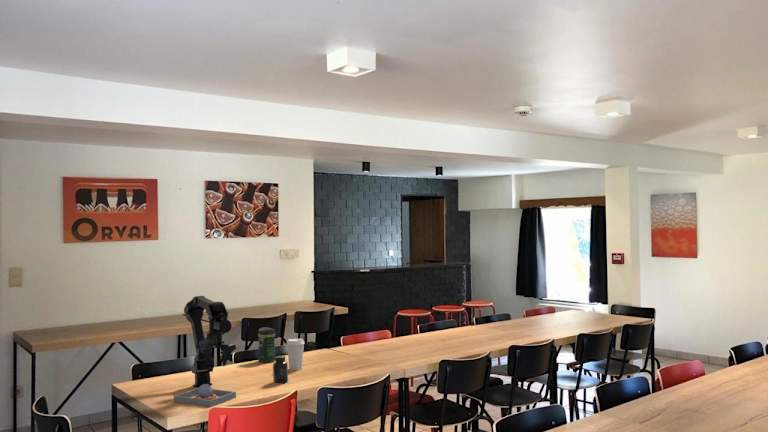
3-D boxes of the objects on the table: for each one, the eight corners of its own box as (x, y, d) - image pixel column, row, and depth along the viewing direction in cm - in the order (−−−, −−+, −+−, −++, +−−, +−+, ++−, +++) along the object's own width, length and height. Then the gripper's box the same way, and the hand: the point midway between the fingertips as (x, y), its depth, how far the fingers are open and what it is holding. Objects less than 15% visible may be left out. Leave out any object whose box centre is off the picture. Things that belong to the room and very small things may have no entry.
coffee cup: (301, 371, 327) (301, 341, 328) (283, 370, 329) (283, 341, 330) (307, 367, 337) (307, 338, 337) (290, 366, 339) (289, 338, 339)
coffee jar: (277, 361, 352) (277, 327, 353) (264, 363, 347) (264, 329, 348) (269, 359, 360) (268, 325, 360) (256, 360, 355) (255, 327, 355)
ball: (195, 399, 273) (194, 385, 273) (204, 396, 279) (204, 382, 279) (205, 400, 270) (205, 386, 271) (215, 397, 276) (215, 383, 276)
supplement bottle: (288, 380, 308) (288, 355, 308) (287, 383, 301) (286, 357, 301) (274, 380, 308) (274, 355, 308) (272, 384, 301) (271, 358, 301)
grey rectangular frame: (173, 401, 272) (173, 396, 272) (200, 393, 286) (200, 387, 286) (210, 407, 263) (210, 400, 263) (236, 397, 277) (235, 391, 277)
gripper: (187, 331, 286) (187, 366, 285) (219, 334, 277) (219, 370, 277) (204, 327, 295) (205, 361, 295) (236, 330, 287) (236, 365, 287)
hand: (216, 365), depth 288 cm, fingers open, 9 cm apart
